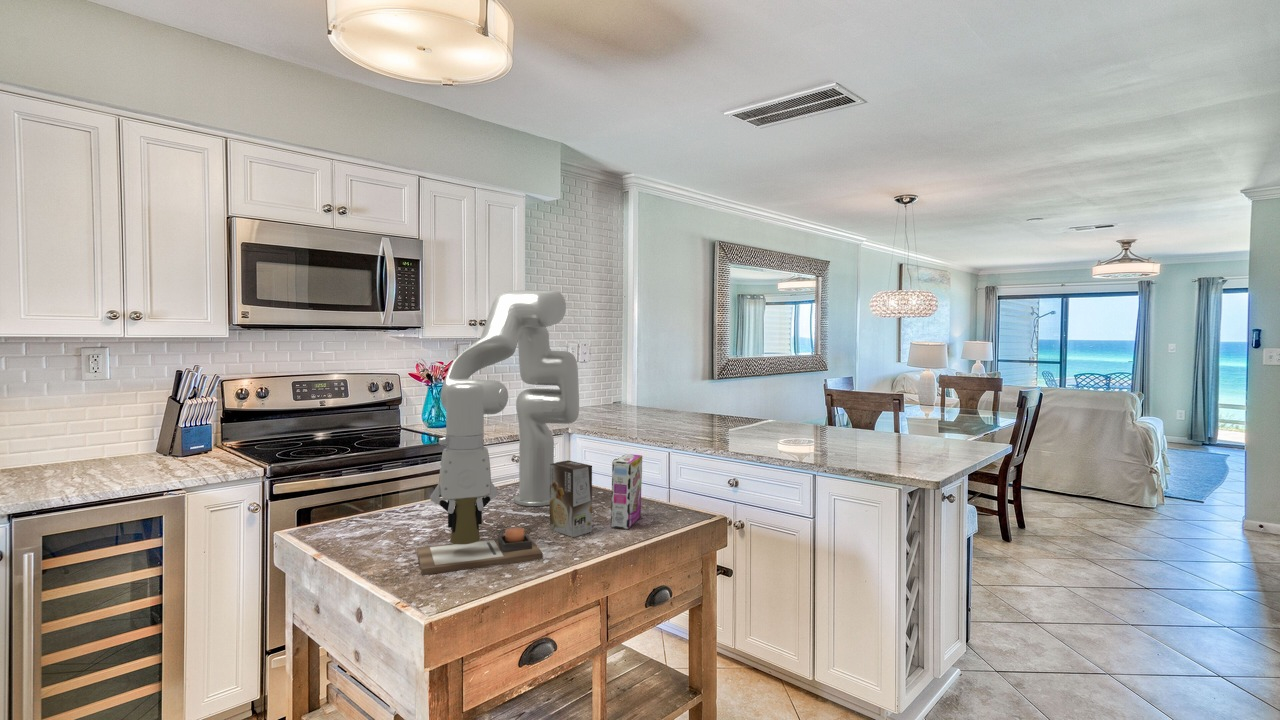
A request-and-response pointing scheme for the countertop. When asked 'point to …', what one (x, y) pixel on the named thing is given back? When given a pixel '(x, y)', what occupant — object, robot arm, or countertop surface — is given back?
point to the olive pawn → (465, 522)
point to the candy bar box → (626, 491)
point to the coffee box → (571, 498)
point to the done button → (514, 534)
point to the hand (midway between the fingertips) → (464, 528)
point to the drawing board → (476, 554)
